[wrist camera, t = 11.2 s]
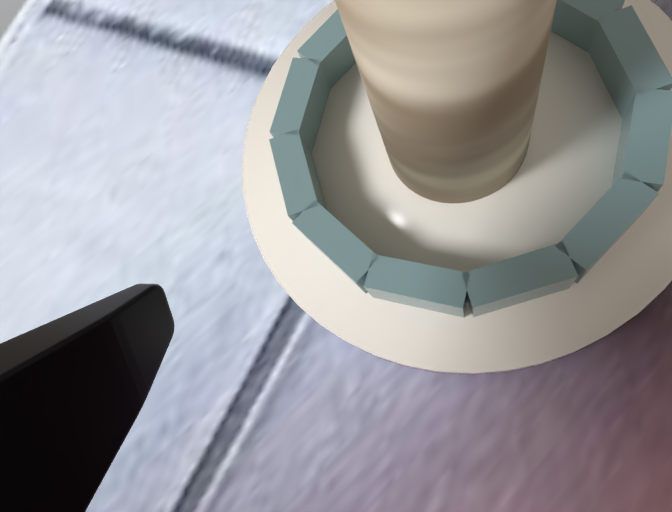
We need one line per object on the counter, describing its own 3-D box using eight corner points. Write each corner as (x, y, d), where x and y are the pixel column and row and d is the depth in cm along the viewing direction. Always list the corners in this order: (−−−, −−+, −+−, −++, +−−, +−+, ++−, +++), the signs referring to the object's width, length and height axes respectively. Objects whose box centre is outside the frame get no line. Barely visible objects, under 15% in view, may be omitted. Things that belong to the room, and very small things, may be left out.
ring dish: (809, 289, 15) (871, 266, 13) (303, 431, 17) (276, 433, 15) (590, -91, 20) (606, -158, 18) (220, 57, 22) (190, 15, 20)
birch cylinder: (551, 175, 17) (707, -323, 5) (409, 222, 17) (285, -134, 6) (500, 58, 18) (539, -522, 7) (372, 106, 19) (217, -352, 8)
